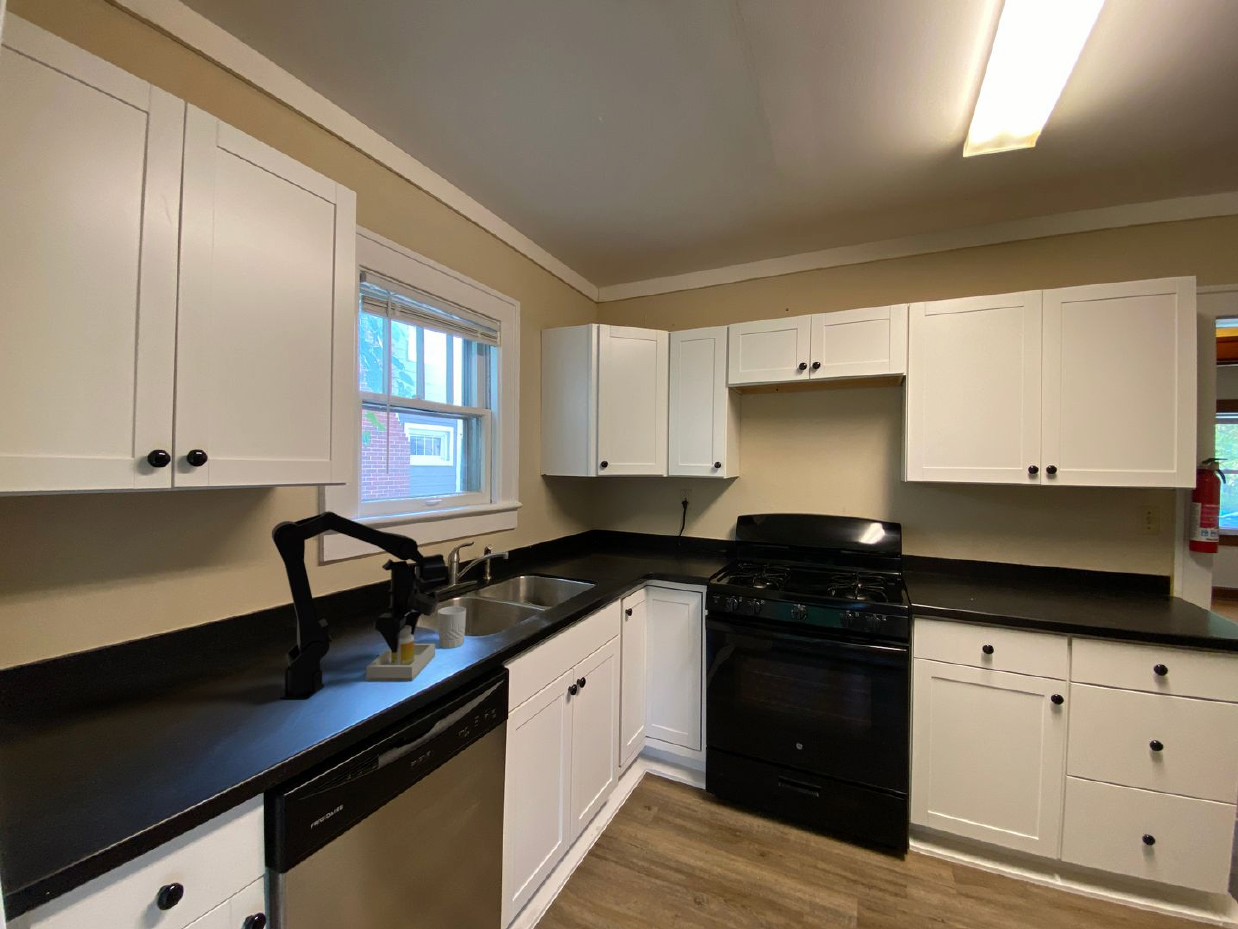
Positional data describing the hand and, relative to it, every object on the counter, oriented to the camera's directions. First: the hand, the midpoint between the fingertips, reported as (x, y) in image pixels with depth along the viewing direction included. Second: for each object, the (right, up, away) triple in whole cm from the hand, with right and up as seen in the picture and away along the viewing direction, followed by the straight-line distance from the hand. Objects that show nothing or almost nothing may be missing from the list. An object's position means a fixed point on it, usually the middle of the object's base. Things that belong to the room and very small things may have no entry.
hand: (402, 645), depth 125 cm
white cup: (+7, -6, +17) cm, 19 cm away
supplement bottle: (0, -5, 0) cm, 5 cm away
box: (0, -6, 0) cm, 6 cm away
